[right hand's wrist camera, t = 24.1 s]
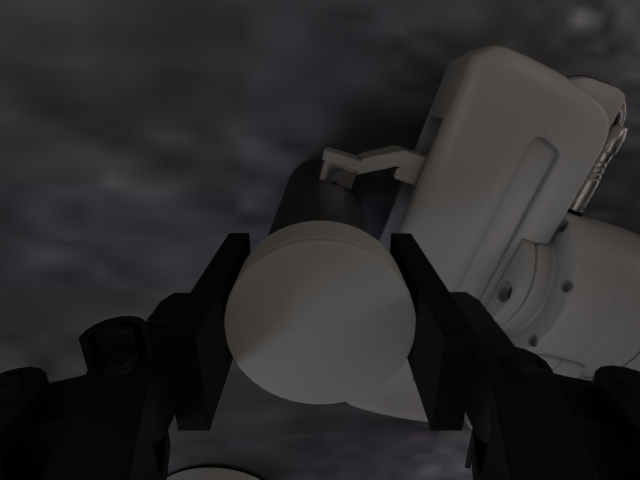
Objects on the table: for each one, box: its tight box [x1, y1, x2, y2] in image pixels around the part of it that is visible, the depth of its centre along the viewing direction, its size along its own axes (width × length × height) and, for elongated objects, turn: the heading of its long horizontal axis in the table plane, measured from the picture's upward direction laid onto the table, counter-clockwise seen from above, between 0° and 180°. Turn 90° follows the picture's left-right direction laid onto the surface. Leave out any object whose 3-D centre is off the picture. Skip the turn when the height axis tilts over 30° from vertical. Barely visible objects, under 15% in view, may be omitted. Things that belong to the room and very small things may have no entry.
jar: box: [268, 159, 372, 236], centre depth 18 cm, size 5×5×15 cm
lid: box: [224, 221, 416, 404], centre depth 11 cm, size 6×6×2 cm
